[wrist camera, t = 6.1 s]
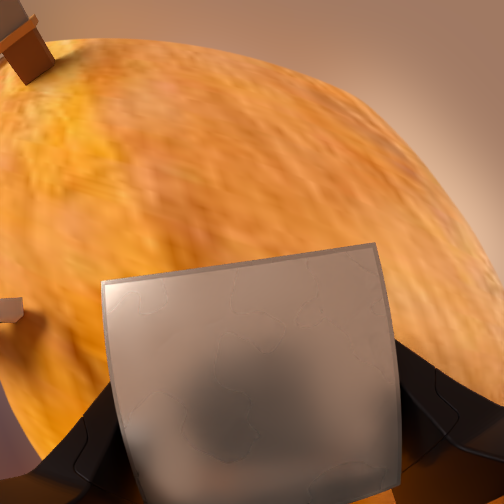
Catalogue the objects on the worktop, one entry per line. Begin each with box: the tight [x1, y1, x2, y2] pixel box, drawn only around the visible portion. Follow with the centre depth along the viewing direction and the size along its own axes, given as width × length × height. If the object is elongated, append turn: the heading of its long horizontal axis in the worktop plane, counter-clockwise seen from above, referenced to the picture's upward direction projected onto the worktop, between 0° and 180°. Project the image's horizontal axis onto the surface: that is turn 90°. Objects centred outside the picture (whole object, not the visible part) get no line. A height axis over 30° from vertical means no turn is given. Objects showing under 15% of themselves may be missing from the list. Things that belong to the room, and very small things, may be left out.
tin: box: [101, 242, 402, 504], centre depth 9 cm, size 6×6×10 cm
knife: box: [0, 0, 55, 85], centre depth 17 cm, size 8×4×30 cm, turn 116°
